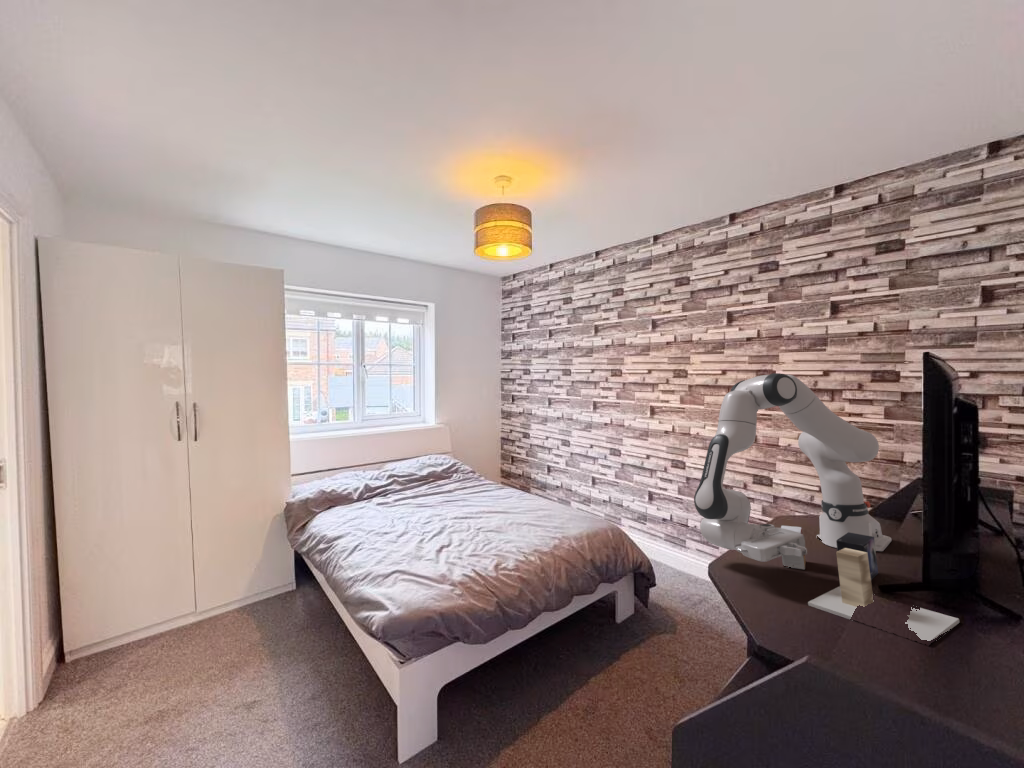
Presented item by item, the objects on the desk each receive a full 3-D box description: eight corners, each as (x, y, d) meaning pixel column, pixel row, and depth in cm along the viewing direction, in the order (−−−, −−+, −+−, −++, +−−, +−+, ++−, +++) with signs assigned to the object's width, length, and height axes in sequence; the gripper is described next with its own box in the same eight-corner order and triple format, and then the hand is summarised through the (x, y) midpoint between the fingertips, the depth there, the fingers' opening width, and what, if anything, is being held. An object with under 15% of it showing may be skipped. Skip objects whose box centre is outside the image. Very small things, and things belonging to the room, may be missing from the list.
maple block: (851, 597, 103) (845, 547, 104) (874, 604, 99) (867, 552, 100) (842, 602, 101) (836, 551, 102) (864, 609, 97) (858, 556, 98)
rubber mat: (841, 588, 110) (841, 585, 110) (959, 622, 91) (958, 618, 91) (808, 605, 102) (807, 602, 103) (928, 646, 83) (928, 642, 83)
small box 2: (869, 585, 111) (864, 544, 111) (839, 578, 116) (834, 540, 117) (880, 574, 117) (875, 535, 118) (851, 568, 122) (846, 531, 123)
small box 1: (805, 570, 123) (800, 533, 124) (782, 567, 126) (778, 531, 127) (806, 561, 129) (802, 526, 130) (784, 558, 133) (781, 524, 133)
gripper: (729, 536, 118) (779, 548, 106) (772, 522, 127) (823, 532, 115) (731, 559, 117) (782, 574, 105) (774, 543, 127) (825, 556, 115)
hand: (804, 552), depth 110 cm, fingers closed
